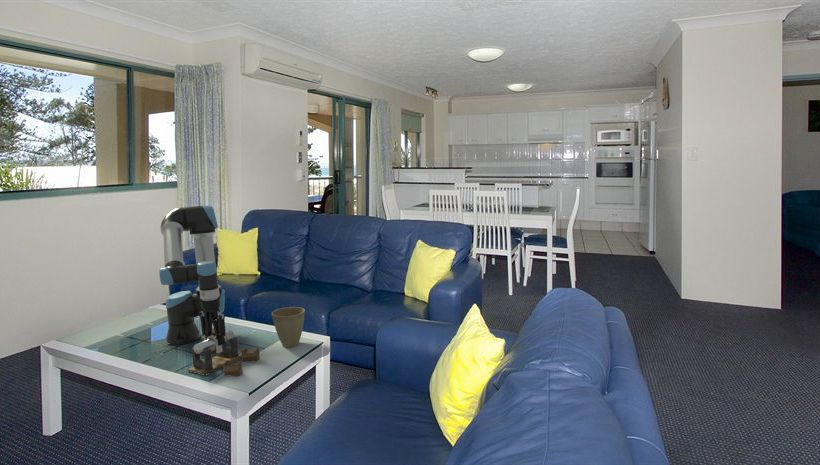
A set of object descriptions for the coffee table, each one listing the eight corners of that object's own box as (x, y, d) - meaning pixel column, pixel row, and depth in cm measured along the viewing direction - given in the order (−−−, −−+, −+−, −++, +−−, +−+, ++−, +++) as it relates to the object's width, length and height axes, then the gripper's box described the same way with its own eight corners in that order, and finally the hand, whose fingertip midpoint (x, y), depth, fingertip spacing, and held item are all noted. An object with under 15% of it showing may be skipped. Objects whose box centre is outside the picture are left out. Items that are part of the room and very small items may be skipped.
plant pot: (305, 349, 227) (302, 315, 225) (271, 351, 226) (268, 317, 224) (308, 337, 242) (306, 305, 239) (277, 339, 241) (274, 307, 238)
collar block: (188, 371, 208) (185, 350, 206) (227, 353, 226) (225, 333, 225) (205, 375, 203) (202, 353, 202) (243, 356, 222) (241, 336, 220)
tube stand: (238, 376, 201) (237, 363, 201) (224, 375, 203) (222, 363, 202) (260, 359, 218) (259, 347, 217) (246, 358, 219) (245, 347, 218)
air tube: (201, 354, 204) (200, 344, 204) (193, 353, 206) (192, 343, 206) (234, 339, 220) (233, 330, 220) (227, 338, 222) (226, 329, 222)
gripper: (188, 298, 211) (194, 351, 214) (217, 302, 203) (223, 357, 206) (203, 294, 217) (208, 345, 221) (231, 297, 210) (236, 351, 213)
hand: (215, 351), depth 214 cm, fingers closed on air tube, 4 cm apart
